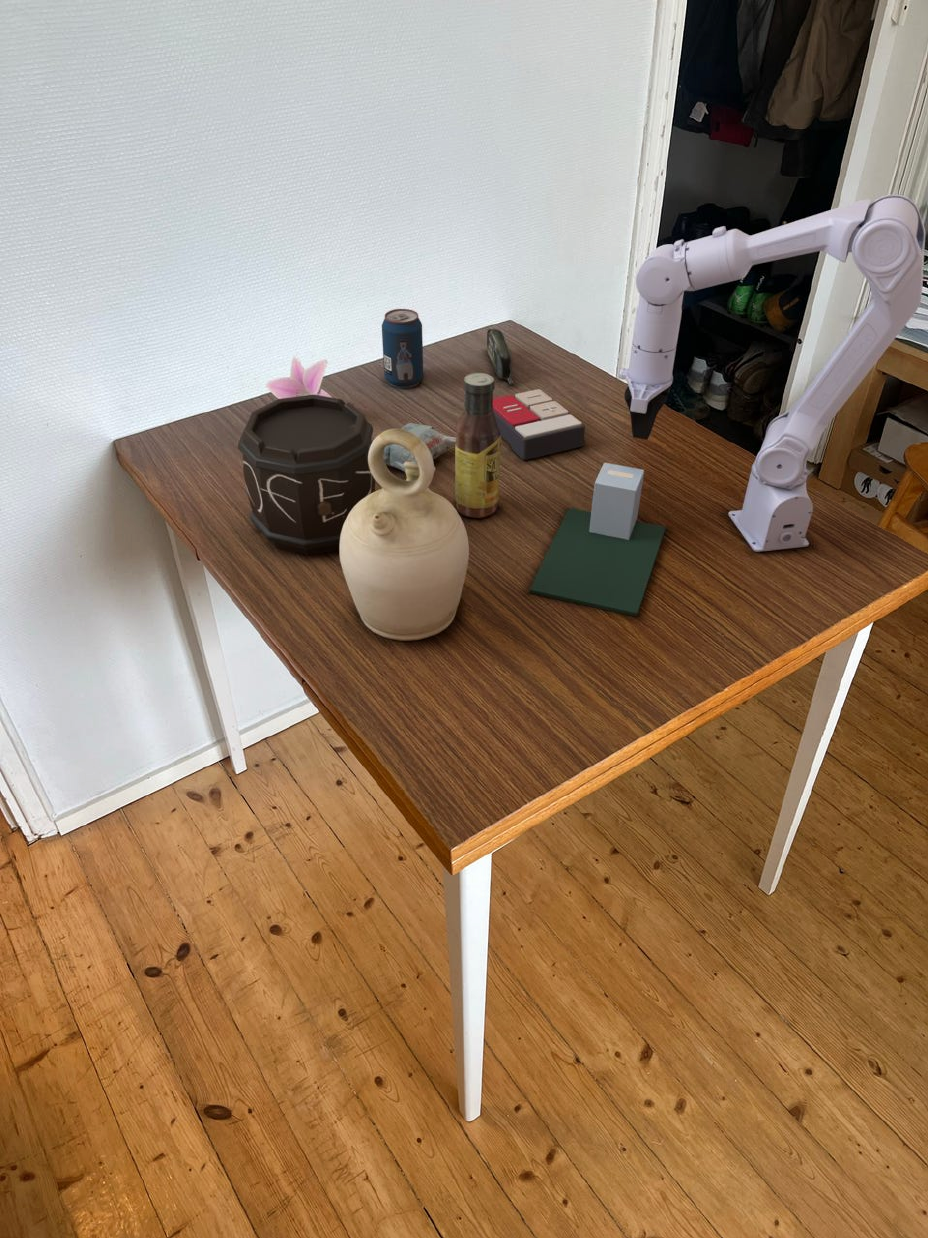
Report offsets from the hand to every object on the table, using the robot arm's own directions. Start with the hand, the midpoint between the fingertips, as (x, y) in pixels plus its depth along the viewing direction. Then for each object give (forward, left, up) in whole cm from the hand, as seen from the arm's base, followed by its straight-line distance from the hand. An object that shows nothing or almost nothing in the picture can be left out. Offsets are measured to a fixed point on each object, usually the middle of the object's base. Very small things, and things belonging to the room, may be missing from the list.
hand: (641, 436), depth 129 cm
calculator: (+21, +10, -10) cm, 26 cm away
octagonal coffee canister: (+1, +46, -10) cm, 47 cm away
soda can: (+43, +28, -10) cm, 53 cm away
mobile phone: (+45, +10, -10) cm, 48 cm away
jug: (-20, +36, -10) cm, 42 cm away
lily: (+32, +46, -10) cm, 57 cm away
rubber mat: (-14, +9, -10) cm, 20 cm away
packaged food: (+15, +30, -10) cm, 35 cm away
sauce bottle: (+1, +23, -10) cm, 25 cm away
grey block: (-7, +5, -6) cm, 11 cm away
